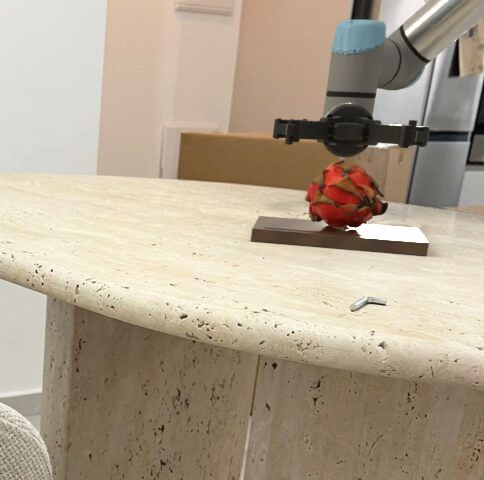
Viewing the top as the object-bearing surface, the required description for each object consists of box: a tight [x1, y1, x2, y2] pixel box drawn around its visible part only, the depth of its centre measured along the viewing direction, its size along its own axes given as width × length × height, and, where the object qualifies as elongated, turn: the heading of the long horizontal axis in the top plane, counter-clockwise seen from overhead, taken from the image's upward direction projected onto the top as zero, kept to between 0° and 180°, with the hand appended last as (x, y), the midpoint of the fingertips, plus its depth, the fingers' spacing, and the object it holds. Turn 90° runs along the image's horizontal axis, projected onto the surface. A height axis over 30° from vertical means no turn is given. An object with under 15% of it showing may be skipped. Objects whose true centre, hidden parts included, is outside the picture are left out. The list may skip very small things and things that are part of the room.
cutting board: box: [250, 215, 430, 257], centre depth 117 cm, size 20×14×2 cm
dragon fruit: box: [304, 159, 389, 231], centre depth 115 cm, size 8×8×12 cm
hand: (351, 134), depth 121 cm, fingers open, 13 cm apart
